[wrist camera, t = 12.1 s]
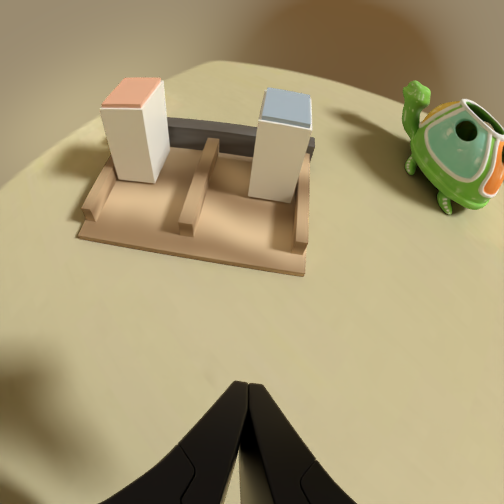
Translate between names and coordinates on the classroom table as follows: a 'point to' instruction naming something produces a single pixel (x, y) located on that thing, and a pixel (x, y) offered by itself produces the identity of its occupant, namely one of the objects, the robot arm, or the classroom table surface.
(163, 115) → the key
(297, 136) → the blue-topped cream block
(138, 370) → the classroom table surface
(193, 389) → the classroom table surface
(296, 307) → the classroom table surface
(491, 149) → the turtle holder
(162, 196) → the wooden divided tray
